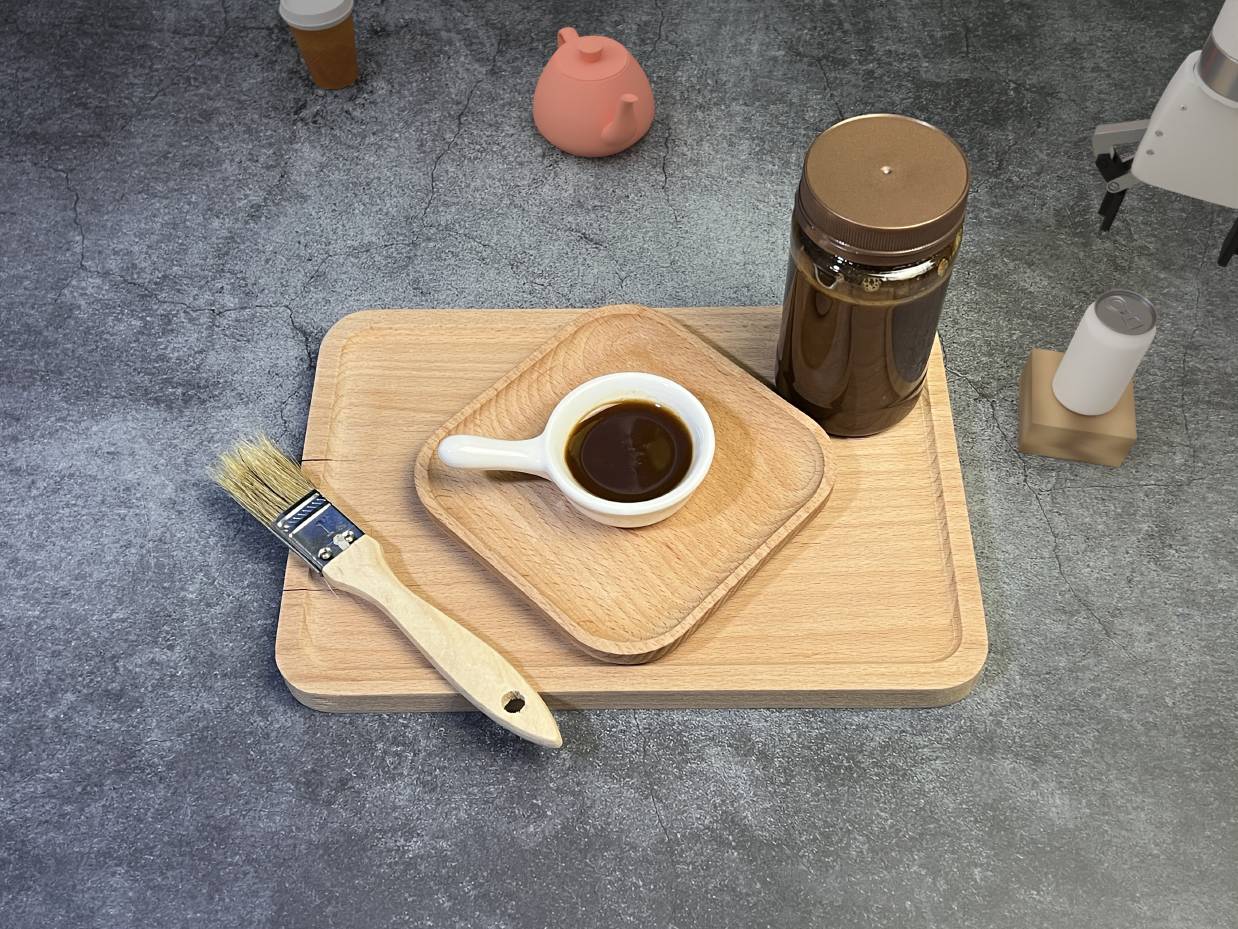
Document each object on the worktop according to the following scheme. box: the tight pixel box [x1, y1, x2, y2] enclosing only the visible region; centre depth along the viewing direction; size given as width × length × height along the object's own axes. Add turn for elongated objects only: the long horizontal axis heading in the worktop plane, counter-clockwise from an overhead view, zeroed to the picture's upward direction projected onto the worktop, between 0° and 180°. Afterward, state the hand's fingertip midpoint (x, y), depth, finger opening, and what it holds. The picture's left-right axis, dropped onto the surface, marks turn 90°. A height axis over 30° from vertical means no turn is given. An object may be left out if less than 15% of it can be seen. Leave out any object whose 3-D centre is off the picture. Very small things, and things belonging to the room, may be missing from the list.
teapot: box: [532, 26, 656, 158], centre depth 138 cm, size 22×16×12 cm
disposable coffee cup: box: [278, 0, 360, 90], centre depth 146 cm, size 10×10×12 cm
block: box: [1017, 347, 1138, 468], centre depth 113 cm, size 10×10×5 cm
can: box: [1052, 288, 1159, 416], centre depth 106 cm, size 6×6×12 cm
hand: (1164, 238), depth 94 cm, fingers open, 9 cm apart
